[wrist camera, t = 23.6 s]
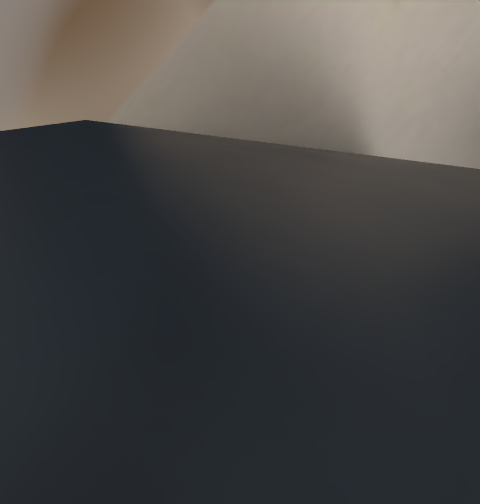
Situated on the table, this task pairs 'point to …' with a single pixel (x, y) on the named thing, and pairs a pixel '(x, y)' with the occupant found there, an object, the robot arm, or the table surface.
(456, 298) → the lid
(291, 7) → the table surface
